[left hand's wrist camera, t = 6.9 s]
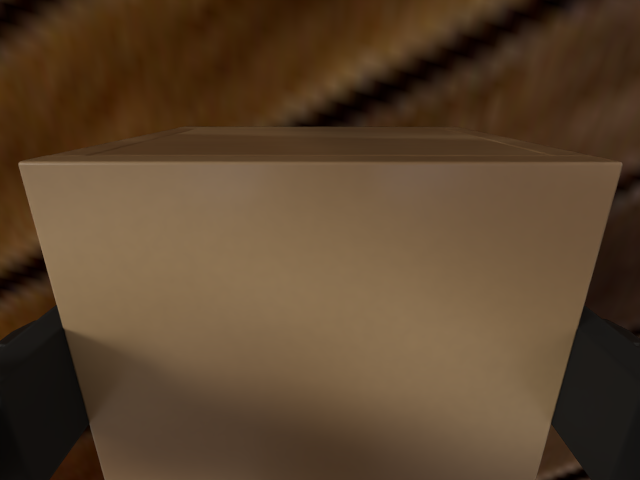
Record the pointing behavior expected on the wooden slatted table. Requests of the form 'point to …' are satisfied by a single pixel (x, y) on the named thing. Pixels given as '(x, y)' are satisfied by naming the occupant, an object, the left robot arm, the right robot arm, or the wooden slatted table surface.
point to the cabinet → (320, 297)
